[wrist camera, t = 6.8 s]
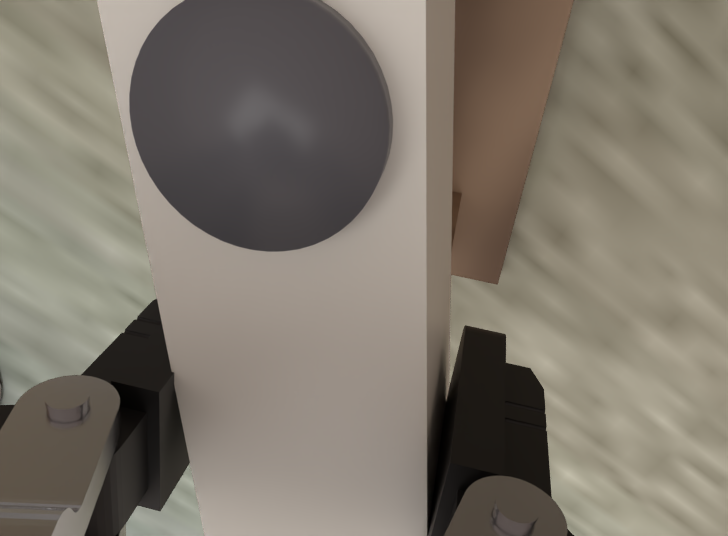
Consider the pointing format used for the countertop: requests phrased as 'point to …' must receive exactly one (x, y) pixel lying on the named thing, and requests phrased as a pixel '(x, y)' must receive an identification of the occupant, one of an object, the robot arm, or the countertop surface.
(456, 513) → the robot arm
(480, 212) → the stand
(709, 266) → the countertop surface
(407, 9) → the frame bar
